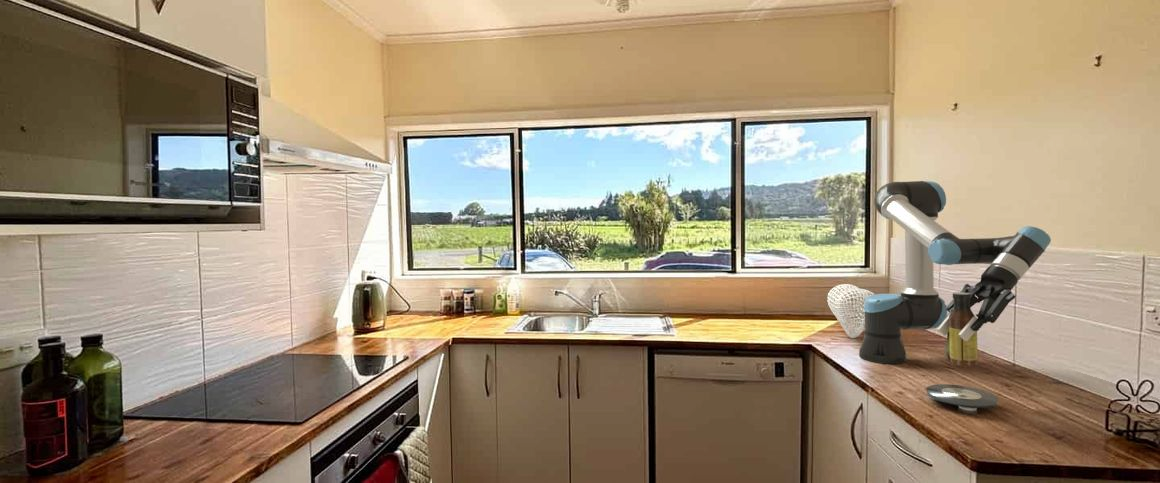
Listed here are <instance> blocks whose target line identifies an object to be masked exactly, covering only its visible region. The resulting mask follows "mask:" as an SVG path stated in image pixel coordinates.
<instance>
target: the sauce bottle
mask: <svg viewBox="0 0 1160 483" xmlns="http://www.w3.org/2000/svg"><path fill="white" fill-rule="evenodd" d="M953 299H954V306H953V308H954V309H953V311H952V312H951V313H950V315H949V341H950V358H951V359H950V362H951V363H952V364H953V365H955V366H961V367H969V368H971V367H972V368H973V367H976V366H978V363H979V362H978V360H979V350H978V331H975V333H974V334H973V335H972V336H971V337H970V338H969V340H968V341H964V340H963V339H962V338H961V337H960V336H959V335H958V334H959V333H960V332H961V331H962V329H963V328H964V327H965V326H966V325H967V323H968V322H969V321H970V320H971V319H972V317H976V315H975V314H974V312H973V311H972V307H970V299H971V294H970V293H964V292H961V291H958V292H952V300H953Z"/></svg>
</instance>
